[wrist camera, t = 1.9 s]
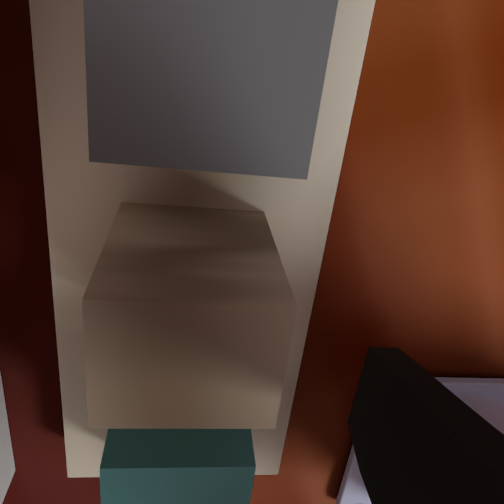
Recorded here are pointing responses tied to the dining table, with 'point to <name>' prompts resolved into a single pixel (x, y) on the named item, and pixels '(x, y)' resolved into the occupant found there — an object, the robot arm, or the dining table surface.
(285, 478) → the dining table surface
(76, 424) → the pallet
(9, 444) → the dock
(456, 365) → the dining table surface
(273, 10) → the grey cube
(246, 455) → the block
